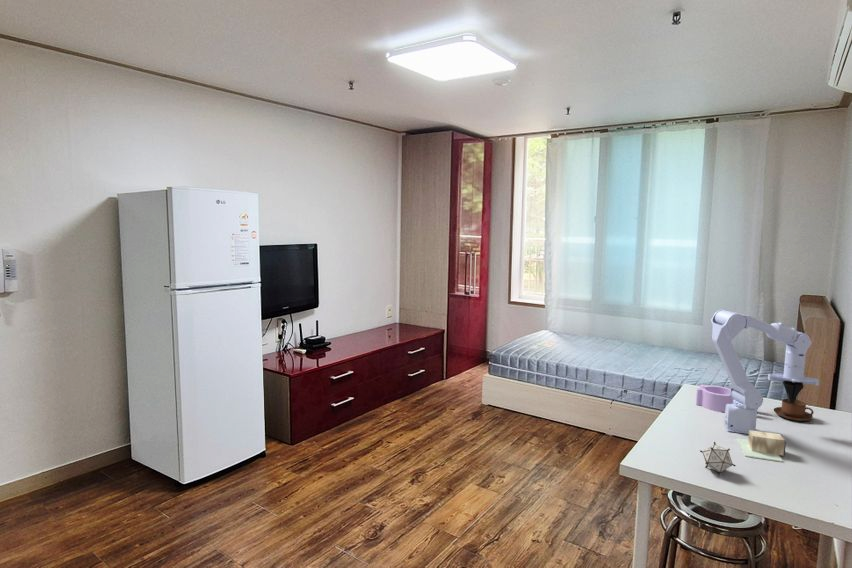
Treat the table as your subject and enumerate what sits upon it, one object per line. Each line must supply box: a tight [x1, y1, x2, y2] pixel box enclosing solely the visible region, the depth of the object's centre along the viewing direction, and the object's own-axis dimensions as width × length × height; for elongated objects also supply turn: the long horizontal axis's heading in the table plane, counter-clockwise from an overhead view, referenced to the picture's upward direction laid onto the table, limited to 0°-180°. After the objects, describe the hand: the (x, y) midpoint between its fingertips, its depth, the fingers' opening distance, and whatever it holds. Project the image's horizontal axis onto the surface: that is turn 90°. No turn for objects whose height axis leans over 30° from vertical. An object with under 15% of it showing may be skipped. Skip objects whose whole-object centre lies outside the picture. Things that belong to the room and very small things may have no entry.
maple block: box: [747, 430, 787, 457], centre depth 161 cm, size 5×5×9 cm
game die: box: [699, 441, 737, 476], centre depth 148 cm, size 9×8×10 cm
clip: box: [695, 384, 734, 413], centre depth 199 cm, size 20×12×7 cm, turn 50°
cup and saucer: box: [773, 398, 815, 422], centre depth 190 cm, size 12×12×6 cm
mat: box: [735, 437, 784, 463], centre depth 162 cm, size 10×14×1 cm
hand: (790, 402), depth 177 cm, fingers closed
